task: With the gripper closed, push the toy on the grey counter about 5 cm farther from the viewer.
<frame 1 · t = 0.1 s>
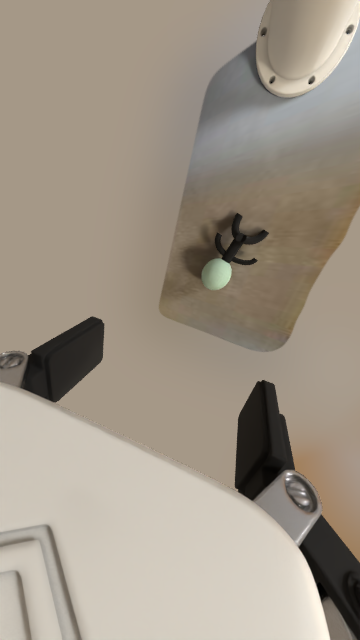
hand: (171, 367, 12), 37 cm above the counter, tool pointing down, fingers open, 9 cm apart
toy: (230, 256, 43), on the counter
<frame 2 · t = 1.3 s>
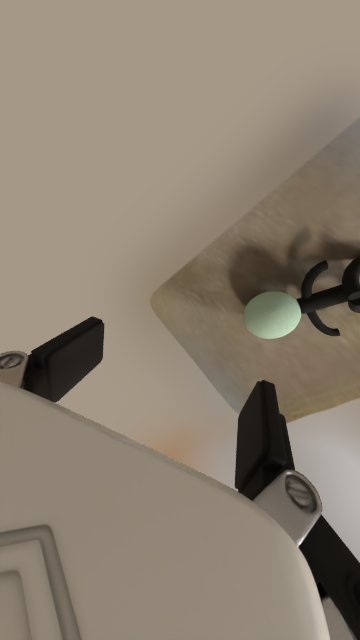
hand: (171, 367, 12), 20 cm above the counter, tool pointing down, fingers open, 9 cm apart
toy: (302, 300, 27), on the counter
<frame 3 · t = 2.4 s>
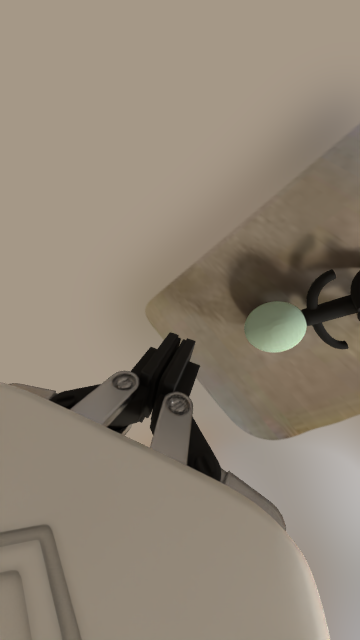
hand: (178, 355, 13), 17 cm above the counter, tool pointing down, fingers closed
toy: (306, 310, 25), on the counter
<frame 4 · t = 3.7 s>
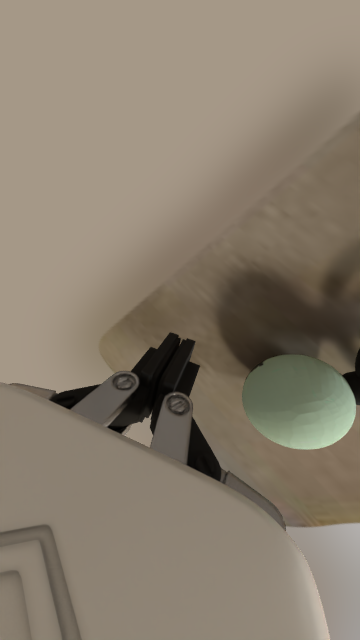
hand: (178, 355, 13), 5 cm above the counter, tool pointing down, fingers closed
toy: (346, 365, 15), on the counter
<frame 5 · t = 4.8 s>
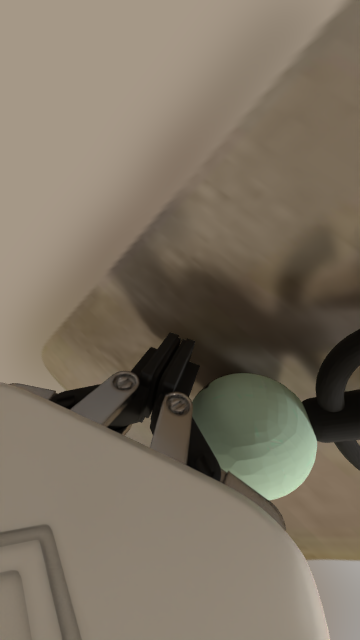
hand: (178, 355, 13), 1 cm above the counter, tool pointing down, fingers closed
toy: (314, 384, 12), on the counter, touching gripper
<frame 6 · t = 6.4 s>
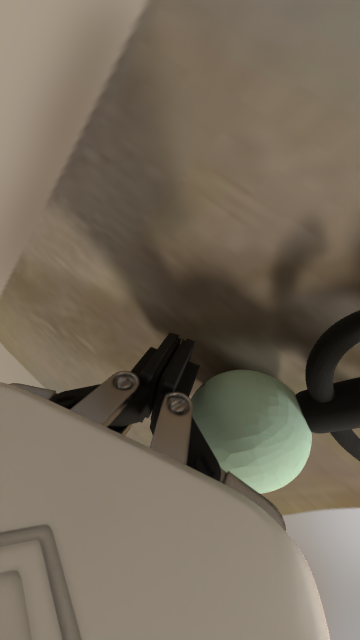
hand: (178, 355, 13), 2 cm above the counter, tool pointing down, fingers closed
toy: (310, 377, 12), on the counter, touching gripper
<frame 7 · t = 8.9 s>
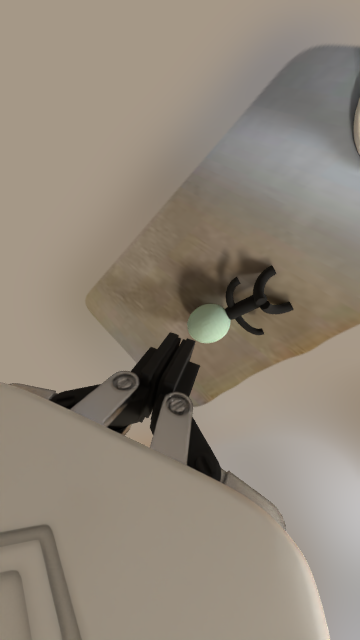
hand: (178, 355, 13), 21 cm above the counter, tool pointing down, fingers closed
toy: (234, 308, 33), on the counter
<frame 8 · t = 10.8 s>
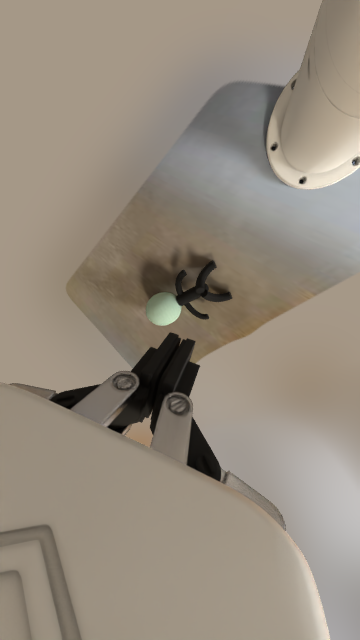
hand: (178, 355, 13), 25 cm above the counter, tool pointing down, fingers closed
toy: (187, 296, 38), on the counter
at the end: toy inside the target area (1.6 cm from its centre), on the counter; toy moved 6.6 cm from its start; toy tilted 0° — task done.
